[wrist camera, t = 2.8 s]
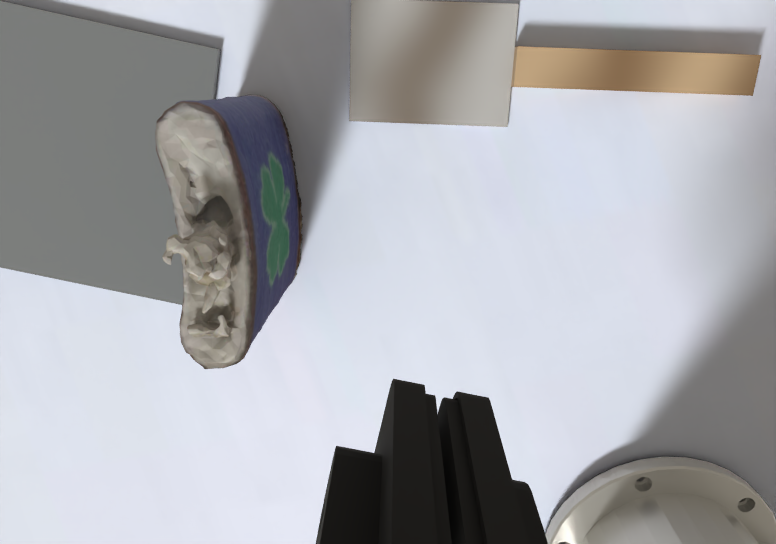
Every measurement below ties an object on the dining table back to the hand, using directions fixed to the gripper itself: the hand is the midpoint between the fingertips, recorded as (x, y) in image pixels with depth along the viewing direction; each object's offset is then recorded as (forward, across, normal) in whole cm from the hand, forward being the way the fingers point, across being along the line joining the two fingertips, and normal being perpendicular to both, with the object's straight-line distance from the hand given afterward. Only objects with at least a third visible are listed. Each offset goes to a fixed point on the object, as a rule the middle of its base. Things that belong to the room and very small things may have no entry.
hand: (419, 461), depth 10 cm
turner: (+19, -4, -8) cm, 20 cm away
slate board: (+19, +18, 0) cm, 26 cm away
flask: (+19, +6, 0) cm, 20 cm away
